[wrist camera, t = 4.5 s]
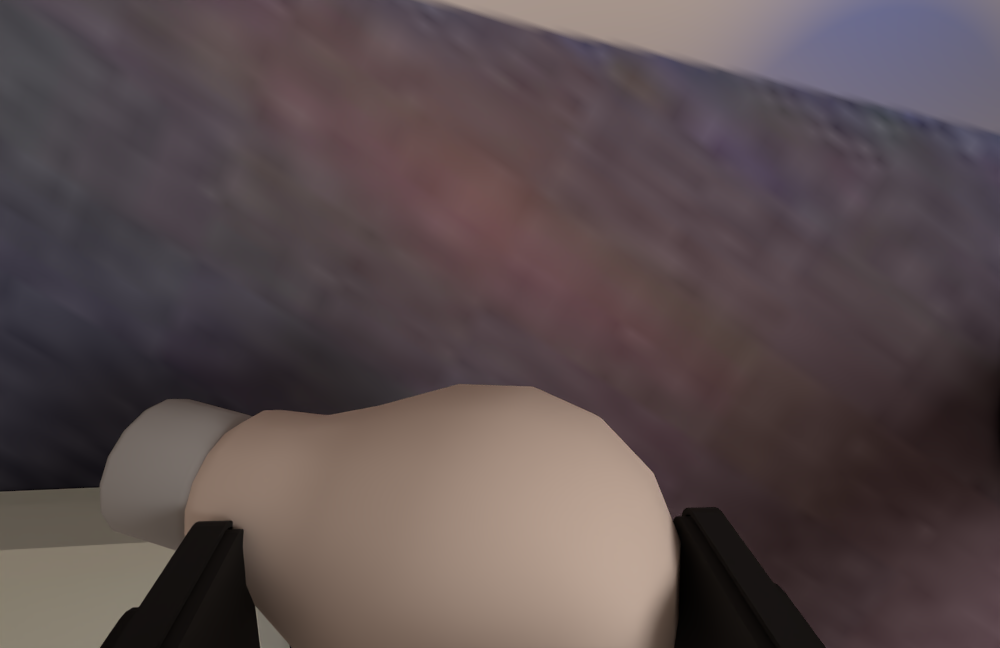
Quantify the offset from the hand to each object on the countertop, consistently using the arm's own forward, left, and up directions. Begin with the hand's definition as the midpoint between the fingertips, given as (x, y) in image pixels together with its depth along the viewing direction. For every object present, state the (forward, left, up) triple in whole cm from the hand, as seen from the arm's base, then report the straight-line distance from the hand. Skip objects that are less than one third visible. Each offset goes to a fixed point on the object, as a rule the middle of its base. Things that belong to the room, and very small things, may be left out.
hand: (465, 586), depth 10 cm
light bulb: (+1, -1, -4) cm, 4 cm away
